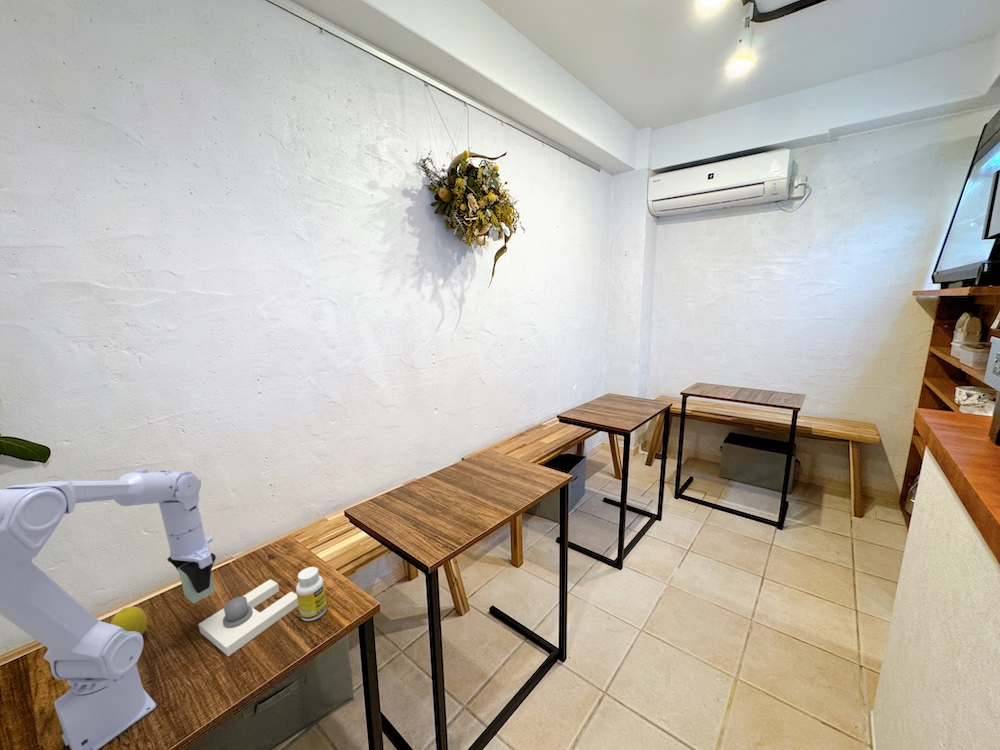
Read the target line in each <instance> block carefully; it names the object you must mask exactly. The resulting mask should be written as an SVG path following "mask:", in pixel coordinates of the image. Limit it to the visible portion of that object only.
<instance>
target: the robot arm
mask: <svg viewBox="0 0 1000 750" xmlns="http://www.w3.org/2000/svg"><path fill="white" fill-rule="evenodd" d="M201 486H202V480H201V479H200V478H198V476H197V475H195V473H193V472H191V471H171V469H161V470H160V471H159V472H156V471H153V472H151V471H150V472H149V468H140V469H139V468H137V469H134V470H133V472H127V473H125V474H123V475H122V476H120V477H119V478H118V479H117V480H56V481H55V480H53V481H52V480H51V481H43V482H34V483H26V484H16V485H9V486H5V487H4V488H5V489H0V615H1V616H2V617H3V618H5V619H6V620H8V621H9V622H11V624H14V625H15V626H17V628H18V629H20V630H21V631H23V632H24V633H25V634H28V636H30V637H31V638H33V639H34V640H35V641H36V642H39V643H40V644H41V645H43V646H44V647H45V648H47V651H46V652H45V654H44V656H43V660H44V661H45V660H46V661H47V662H48V664H49V665H50V672H51V675H52V676H53V677H54V678H55V679H56V680H66V681H67V684H68V685H67V686H69V687H71V688H69V690H67V691H66V692H65V693H64V694H63V695H61V696H60V697H58V698H57V699H55V700H54V701H53V705H54V708H55V711H56V714H57V717H58V720H59V723H60V724H59V725H60V727H61V729H62V732H63V734H62V735H61V737H62V740H63V743H64V744H65V746H66V747H67V746H69V748H70V750H99V749H101V748H102V747H103V746H105V745H106V744H108V743H109V742H110V741H112V740H113V739H115V738H116V737H117V736H119V735H120V734H121V733H123V732H124V731H126V730H127V729H128V728H130V727H131V726H133V725H134V724H135V723H137V722H138V721H140V720H141V719H143V718H144V717H145V716H146V715H148V714H149V713H151V712H152V711H153V710H155V708H157V703H156V702H155V700H153V699H152V697H151V696H150V695H149V694H148V693H147V691H146V690H145V689H144V686H143V683H142V680H141V677H140V673H139V668H138V665H137V663H138V662H139V659H140V656H141V655H142V652H143V649H144V638H143V634H142V635H141V634H140V633H139V632H136V631H130V632H128V631H125V630H124V629H123V628H122V627H119V626H116V625H113V624H110V623H108V622H105V621H102V620H99V619H98V618H97V617H96V616H95V615H94V614H93V613H91V612H90V611H89V610H88V609H87V608H85V607H84V606H83V605H82V604H81V603H80V602H78V601H77V600H76V598H74V597H73V596H72V595H70V594H69V593H68V592H67V591H66V590H65V589H64V588H63V587H61V585H59V584H58V583H57V582H56V581H55V580H53V579H52V578H51V577H50V576H48V575H47V574H46V573H45V572H44V571H43V570H41V569H40V568H39V567H38V566H37V565H36V564H35V563H33V561H32V560H33V559H34V558H36V557H37V556H38V555H39V554H40V552H41V550H42V549H43V547H44V546H45V544H46V543H47V541H48V540H49V538H50V537H51V535H52V534H53V533H54V532H55V530H56V529H57V528H58V525H59V524H60V522H61V521H62V519H63V517H64V516H65V515H68V514H69V515H70V514H71V513H73V512H74V509H75V506H76V504H83V503H93V502H100V501H101V502H103V501H110V500H111V501H112V500H114V501H115V503H116V504H118V505H120V506H122V507H130V506H140V505H151V504H152V505H153V504H158V505H159V511H160V514H161V517H162V521H163V522H162V523H163V525H164V530H165V535H166V538H167V542H168V546H169V557H168V558H167V559H166V560H167V562H169V563H171V564H172V565H173V566H174V567H175V568H176V570H177V571H178V572H179V570H178V567H180V566H181V567H180V570H181V571H183V572H184V573H185V574H186V575H187V576H188V577H189V579H190V581H191V583H192V585H193V587H194V589H195V591H196V592H197V593H200V592H202V591H204V590H206V589H207V588H209V586H210V576H211V573H212V569H213V566H214V564H215V561H216V558H217V557H216V554H215V553H213V552H211V553H210V552H209V544H210V543H212V542H213V540H214V539H213V537H212V536H210V535H207V536H206V534H205V531H204V526H203V522H202V518H201V513H200V509H199V505H198V504H199V502H200V495H199V494H200V490H201ZM190 561H191V562H190ZM188 562H189V563H188ZM186 563H187V564H186ZM184 564H185V565H184ZM182 565H183V566H182Z"/></svg>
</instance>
